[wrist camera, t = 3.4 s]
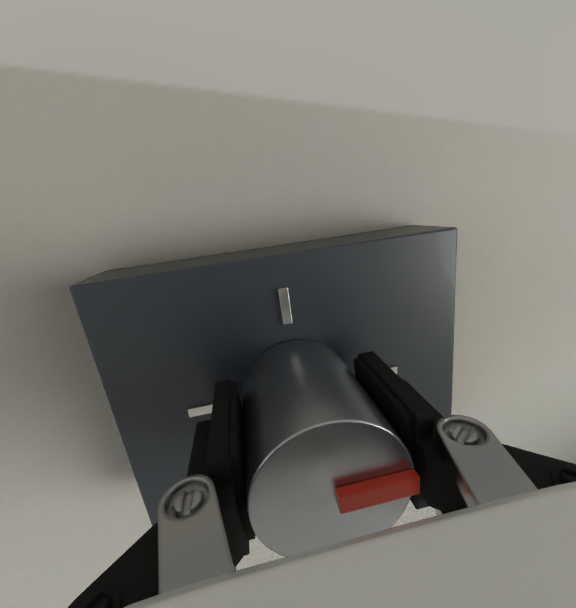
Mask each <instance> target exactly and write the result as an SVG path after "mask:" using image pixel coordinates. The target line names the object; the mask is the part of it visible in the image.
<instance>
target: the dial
mask: <svg viewBox="0 0 576 608" xmlns="http://www.w3.org/2000/svg"><path fill="white" fill-rule="evenodd" d="M242 413H243V440H244V468H245V495H246V511H247V517H248V520H249V523H250V526H251V528H252V529H253V531H254V533H255V535H256V536H257V537H258V538H259V540H260V541H261V542H262V543H263V544H264V545H266V546H267V547H268V548H270V549H271V550H273V551H274V552H276V553H278V554H280V555H283V556H286V557H288V556H292V555H295V554H299V553H302V552H306V551H309V550H313V549H317V548H320V547H324V546H327V545H331V544H335V543H338V542H342V541H346V540H349V539H353V538H357V537H360V536H364V535H368V534H371V533H375V532H379V531H382V530H386V529H390V528H391V527H392V526H393V525H394V524H395V523H396V521H397V520H398V519H399V518H400V516H401V515H402V513H403V512H404V510H405V508H406V506H407V504H408V502H409V500H410V497H411V496H413V495H417V494H420V476H419V475H418V473H417V472H416V471H415V469H414V465H413V461H412V457H411V455H410V453H409V450H408V448H407V447H406V446H405V444H404V443H403V441H402V440H401V439H400V437H399V436H398V434H397V433H396V432H395V430H394V429H393V428H392V426H391V425H390V424H389V422H388V421H387V420H386V418H385V417H384V416H383V414H382V413H381V412H380V410H379V409H378V408H377V406H376V405H375V403H374V402H373V401H372V399H371V398H370V397H369V395H368V394H367V393H366V391H365V390H364V389H363V387H362V386H361V385H360V383H359V382H358V381H357V379H356V378H355V377H354V375H353V374H352V372H351V371H350V370H349V368H348V367H347V366H346V364H345V363H344V362H343V360H342V359H341V358H340V356H339V355H338V354H337V353H336V352H335V351H333V350H332V349H331V348H329V347H327V346H326V345H323V344H321V343H319V342H315V341H310V340H293V341H287V342H283V343H280V344H278V345H275V346H274V347H272V348H270V349H268V350H267V351H265V352H264V353H262V354H261V355H260V356H259V357H258V358H257V359H256V360H255V361H254V362H253V364H252V365H251V367H250V368H249V370H248V372H247V374H246V376H245V379H244V382H243V387H242Z"/></svg>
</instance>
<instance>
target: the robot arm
mask: <svg viewBox="0 0 576 608" xmlns="http://www.w3.org/2000/svg"><path fill="white" fill-rule="evenodd" d="M354 371H355V378H356V379H357V381H358V382H359V383H360V385H361V386H362V387H363V389H364V390H365V391H366V393H367V394H368V395H369V397H370V398H371V399H372V401H373V402H374V403H375V405H376V406H377V408H378V409H379V410H380V412H381V413H382V414H383V416H384V417H385V418H386V420H387V421H388V422H389V424H390V425H391V426H392V428H393V429H394V430H395V432H396V433H397V434H398V436H399V437H400V439H401V440H402V441H403V443H404V444H405V446H406V447H407V448H408V450H409V453H410V455H411V457H412V461H413V465H414V469H415V471H416V472H417V473H418V475H419V476H420V494H417V495H413V496H411V497H410V500H411V501H412V503H413V505H414V506H415V508H416V509H420V508H424V507H428V506H431V507H433V508H435V510H436V514H437V516H434V517H430V518H427V519H423V520H419V521H416V522H412V523H408V524H405V525H401V526H397V527H394V528H390V529H386V530H382V531H379V532H375V533H371V534H368V535H364V536H360V537H357V538H353V539H349V540H346V541H342V542H338V543H335V544H331V545H327V546H324V547H320V548H317V549H313V550H309V551H306V552H302V553H299V554H295V555H292V556H288V557H284V558H281V559H277V560H274V561H270V562H266V563H263V564H259V565H256V566H252V567H249V568H245V569H241V570H238V571H236V568H235V567H236V566H237V564H238V563H239V562H240V560H241V559H242V558H243V556H244V555H248V554H249V540H251V539H255V533H254V531H253V529H252V528H251V526H250V523H249V520H248V517H247V511H246V495H245V468H244V440H243V413H242V406H241V401H240V396H239V391H238V386H237V382H233V383H231V380H230V379H228V380H223V381H218V382H215V389H214V398H213V406H212V414H211V419H209V420H205V421H200V422H197V425H196V429H195V435H194V440H193V445H192V451H191V456H190V461H189V467H188V472H187V477H184V478H182V479H180V480H178V481H176V482H175V483H174V484H173V485H171V486H170V487H169V488H168V489H167V490H166V491H165V493H164V494H163V495H162V497H161V499H160V501H159V505H158V522H157V523H156V524H155V525H154V526H152V527H151V528H150V529H149V530H148V531H147V532H146V533H145V534H144V535H143V536H142V537H141V538H140V539H139V540H138V541H137V542H135V543H134V544H133V545H132V546H131V547H130V548H129V549H128V550H127V551H126V552H125V553H124V554H123V555H122V556H121V557H120V558H118V559H117V560H116V561H115V562H114V563H113V564H112V565H111V566H110V567H109V568H108V569H107V570H106V571H105V572H104V573H103V574H101V575H100V576H99V577H98V578H97V579H96V580H95V581H94V582H93V583H92V584H91V585H90V586H89V587H88V588H87V589H86V590H85V591H83V592H82V593H81V594H80V595H79V596H78V597H77V598H76V599H75V600H74V601H73V602H72V604H71V605H70V606H69V607H68V608H576V464H572V463H568V462H565V461H561V460H558V459H554V458H550V457H547V456H543V455H540V454H536V453H533V452H529V451H525V450H522V449H518V448H515V447H511V446H508V445H504V444H501V442H500V441H499V440H498V439H497V437H496V436H495V435H494V434H493V432H492V431H491V430H490V429H489V428H488V427H487V426H486V425H485V424H483V423H482V422H480V421H478V420H476V419H473V418H471V417H467V416H462V415H450V416H445V417H443V416H442V415H441V414H440V413H439V412H438V411H437V410H436V409H435V408H434V407H433V406H432V405H431V404H430V403H429V402H428V401H427V400H425V399H424V398H423V397H422V396H421V395H420V394H419V393H418V392H417V391H416V390H415V389H414V388H413V387H412V386H411V385H410V384H409V383H408V382H407V381H406V380H404V379H401V378H400V377H399V376H398V375H397V374H396V373H395V372H394V371H393V370H392V369H391V368H390V367H389V366H388V365H387V364H386V363H385V362H384V361H383V360H382V359H381V358H380V357H379V356H378V355H377V354H376V353H375V352H373V351H370V352H365V353H360V354H358V358H355V359H354Z"/></svg>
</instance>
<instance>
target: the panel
mask: <svg viewBox="0 0 576 608" xmlns="http://www.w3.org/2000/svg"><path fill="white" fill-rule="evenodd" d="M456 249H457V228H455V227H439V226H420V225H412V226H405V227H399V228H392V229H385V230H378V231H372V232H365V233H358V234H352V235H345V236H338V237H331V238H325V239H318V240H311V241H304V242H298V243H291V244H284V245H278V246H271V247H264V248H257V249H251V250H244V251H237V252H231V253H224V254H217V255H210V256H204V257H197V258H190V259H184V260H177V261H170V262H163V263H157V264H150V265H143V266H137V267H130V268H123V269H116V270H110V271H105V272H103V273H100V274H98V275H95V276H93V277H91V278H88V279H86V280H84V281H81V282H79V283H77V284H74V285H72V286H70V291H71V294H72V297H73V300H74V302H75V305H76V308H77V311H78V314H79V317H80V320H81V322H82V325H83V328H84V331H85V334H86V337H87V340H88V343H89V345H90V348H91V351H92V354H93V357H94V360H95V363H96V366H97V368H98V371H99V374H100V377H101V380H102V383H103V386H104V389H105V391H106V394H107V397H108V400H109V403H110V406H111V409H112V411H113V414H114V417H115V420H116V423H117V426H118V429H119V432H120V434H121V437H122V440H123V443H124V446H125V449H126V452H127V455H128V457H129V460H130V463H131V466H132V469H133V472H134V475H135V478H136V480H137V483H138V486H139V489H140V492H141V495H142V498H143V500H144V503H145V506H146V509H147V512H148V515H149V518H150V521H151V523H152V526H154V525H155V524H156V523H157V522H158V505H159V501H160V499H161V497H162V495H163V494H164V493H165V491H166V490H167V489H168V488H169V487H170V486H171V485H173V484H174V483H175V482H176V481H178V480H180V479H182V478H184V477H187V472H188V467H189V461H190V456H191V451H192V445H193V440H194V435H195V429H196V425H197V422H200V421H205V420H209V419H211V414H212V406H213V398H214V389H215V382H218V381H223V380H228V379H230V380H231V383H233V382H237V386H238V391H239V396H240V401H241V406H242V387H243V382H244V379H245V376H246V374H247V372H248V370H249V368H250V367H251V365H252V364H253V362H254V361H255V360H256V359H257V358H258V357H259V356H260V355H261V354H262V353H264V352H265V351H267V350H268V349H270V348H272V347H274V346H275V345H278V344H280V343H283V342H287V341H293V340H310V341H315V342H319V343H321V344H323V345H326V346H327V347H329V348H331V349H332V350H333V351H335V352H336V353H337V354H338V355H339V356H340V358H341V359H342V360H343V362H344V363H345V364H346V366H347V367H348V368H349V370H350V371H351V372H352V374H353V375H354V377H355V371H354V359H355V358H358V354H360V353H365V352H370V351H373V352H375V353H376V354H377V355H378V356H379V357H380V358H381V359H382V360H383V361H384V362H385V363H386V364H387V365H388V366H389V367H390V368H391V369H392V370H393V371H394V372H395V373H396V374H397V375H398V376H399V377H400V378H401V379H404V380H406V381H407V382H408V383H409V384H410V385H411V386H412V387H413V388H414V389H415V390H416V391H417V392H418V393H419V394H420V395H421V396H422V397H423V398H424V399H425V400H427V401H428V402H429V403H430V404H431V405H432V406H433V407H434V408H435V409H436V410H437V411H438V412H439V413H440V414H441V415H442V416H443V417H445V416H450V415H451V405H452V374H453V342H454V311H455V280H456Z"/></svg>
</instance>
